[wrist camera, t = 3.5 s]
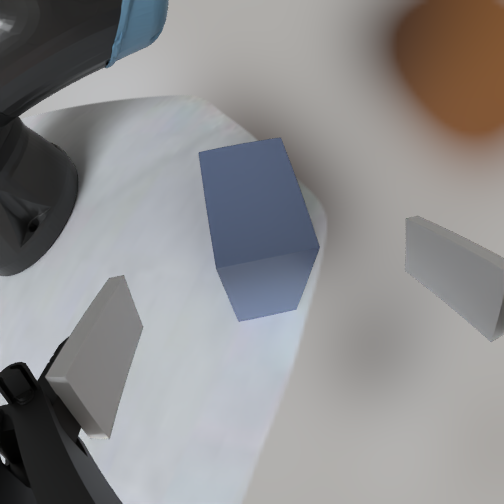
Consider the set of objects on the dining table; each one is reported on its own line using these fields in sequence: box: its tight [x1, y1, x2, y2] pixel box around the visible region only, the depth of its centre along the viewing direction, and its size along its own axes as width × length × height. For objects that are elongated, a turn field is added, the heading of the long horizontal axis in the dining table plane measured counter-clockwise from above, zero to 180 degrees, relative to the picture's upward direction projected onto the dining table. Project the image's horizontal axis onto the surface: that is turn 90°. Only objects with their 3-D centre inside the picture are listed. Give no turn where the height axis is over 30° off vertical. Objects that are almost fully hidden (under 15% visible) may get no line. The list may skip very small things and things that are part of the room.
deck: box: [199, 138, 320, 322], centre depth 17 cm, size 6×4×10 cm
